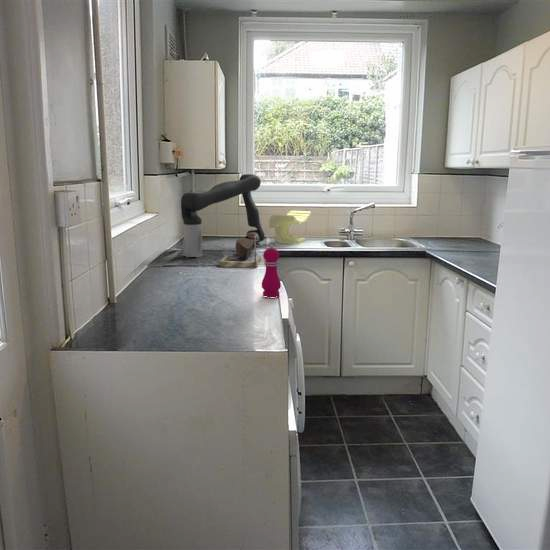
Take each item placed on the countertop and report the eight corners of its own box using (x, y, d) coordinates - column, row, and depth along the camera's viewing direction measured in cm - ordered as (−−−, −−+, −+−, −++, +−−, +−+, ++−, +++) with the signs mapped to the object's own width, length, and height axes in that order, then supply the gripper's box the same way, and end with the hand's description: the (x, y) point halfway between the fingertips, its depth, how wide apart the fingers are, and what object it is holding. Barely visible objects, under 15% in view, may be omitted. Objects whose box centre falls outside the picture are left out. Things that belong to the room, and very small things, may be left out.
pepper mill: (269, 292, 200) (270, 242, 196) (284, 296, 196) (285, 244, 191) (257, 296, 195) (257, 244, 190) (272, 299, 190) (272, 246, 186)
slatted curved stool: (287, 237, 338) (287, 210, 334) (310, 239, 332) (311, 211, 328) (269, 244, 311) (269, 214, 307) (293, 246, 305) (293, 216, 301)
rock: (254, 252, 258) (237, 241, 257) (243, 266, 263) (226, 256, 261) (257, 242, 269) (241, 231, 268) (247, 256, 274) (231, 246, 272)
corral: (219, 266, 247) (218, 232, 243) (226, 260, 263) (225, 227, 259) (256, 267, 245) (256, 233, 242) (261, 260, 261) (261, 228, 258)
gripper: (239, 233, 287) (234, 237, 270) (263, 233, 286) (259, 238, 269) (239, 246, 289) (234, 251, 272) (263, 247, 287) (259, 252, 271)
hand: (247, 245), depth 270 cm, fingers closed
